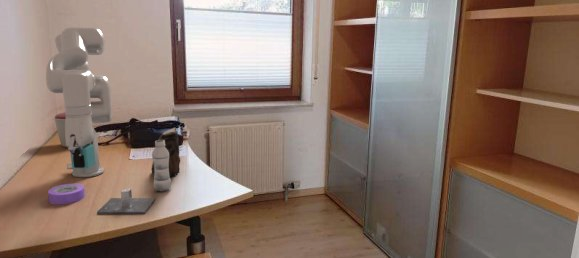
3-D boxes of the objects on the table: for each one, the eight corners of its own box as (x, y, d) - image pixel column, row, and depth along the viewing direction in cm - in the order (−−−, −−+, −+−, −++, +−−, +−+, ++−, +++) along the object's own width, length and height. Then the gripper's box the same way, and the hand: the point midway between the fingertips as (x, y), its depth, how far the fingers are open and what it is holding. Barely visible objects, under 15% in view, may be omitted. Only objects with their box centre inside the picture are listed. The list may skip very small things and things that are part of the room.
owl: (178, 168, 185) (176, 125, 180) (188, 176, 174) (186, 131, 170) (150, 172, 178) (148, 128, 173) (158, 181, 167) (156, 134, 163)
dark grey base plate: (97, 214, 136) (95, 196, 134) (111, 200, 147) (110, 183, 146) (144, 214, 136) (143, 196, 135) (155, 200, 148) (154, 184, 147)
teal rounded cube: (72, 168, 131) (70, 148, 129) (80, 163, 136) (78, 144, 134) (88, 168, 131) (86, 149, 129) (95, 163, 136) (93, 144, 134)
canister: (83, 150, 211) (79, 111, 206) (49, 149, 211) (44, 110, 206) (99, 141, 229) (96, 105, 224) (68, 141, 229) (64, 104, 224)
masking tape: (76, 190, 157) (75, 181, 156) (90, 198, 150) (89, 188, 149) (44, 199, 148) (42, 189, 147) (57, 207, 141) (55, 197, 140)
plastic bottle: (162, 194, 153) (159, 144, 149) (150, 190, 157) (147, 141, 152) (175, 189, 159) (172, 140, 154) (163, 186, 162) (160, 138, 158)
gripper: (79, 106, 137) (84, 157, 141) (51, 115, 121) (58, 172, 125) (101, 106, 137) (106, 157, 142) (76, 116, 121) (82, 173, 125)
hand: (83, 164), depth 133 cm, fingers closed on teal rounded cube, 5 cm apart
